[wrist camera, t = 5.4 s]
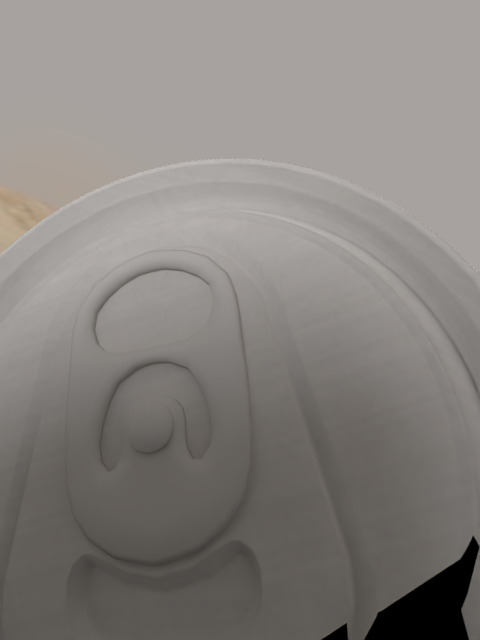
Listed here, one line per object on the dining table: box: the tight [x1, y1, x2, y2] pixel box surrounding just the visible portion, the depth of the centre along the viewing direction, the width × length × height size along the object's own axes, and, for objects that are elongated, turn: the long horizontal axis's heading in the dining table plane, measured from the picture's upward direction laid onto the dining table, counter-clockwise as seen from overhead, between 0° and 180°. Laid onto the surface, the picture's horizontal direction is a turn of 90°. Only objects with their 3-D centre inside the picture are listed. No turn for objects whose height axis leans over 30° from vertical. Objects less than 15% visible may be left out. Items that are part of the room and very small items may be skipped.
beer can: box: [0, 158, 480, 640], centre depth 9 cm, size 6×6×15 cm
